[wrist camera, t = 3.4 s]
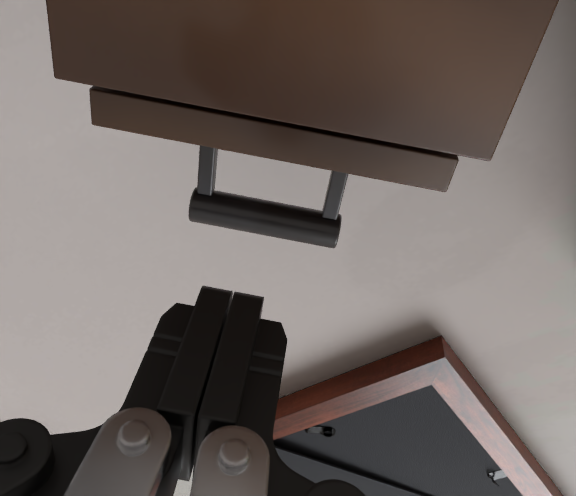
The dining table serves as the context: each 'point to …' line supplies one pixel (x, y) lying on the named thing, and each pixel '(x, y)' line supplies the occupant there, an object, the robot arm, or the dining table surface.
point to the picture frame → (407, 431)
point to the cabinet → (316, 61)
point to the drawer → (274, 145)
